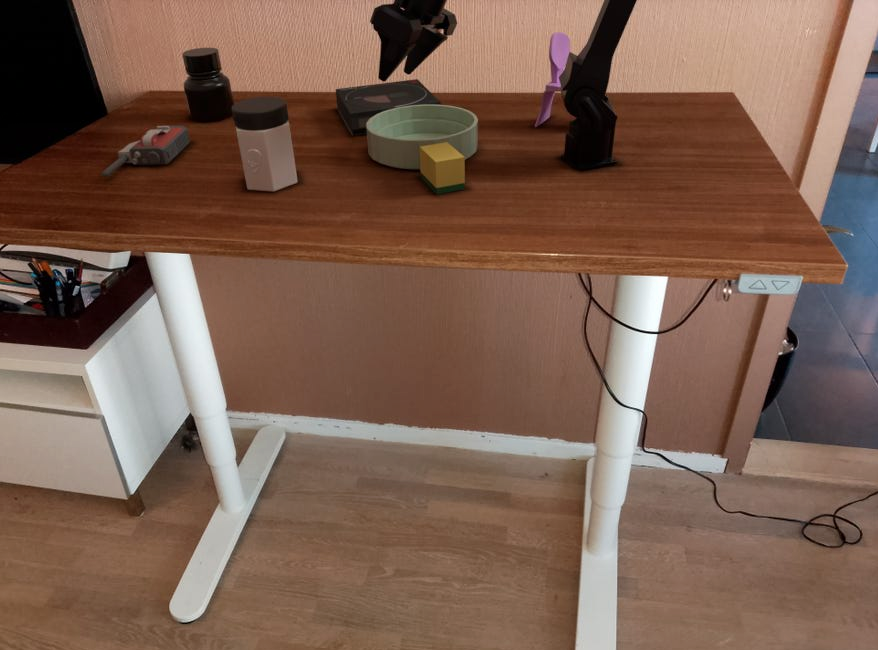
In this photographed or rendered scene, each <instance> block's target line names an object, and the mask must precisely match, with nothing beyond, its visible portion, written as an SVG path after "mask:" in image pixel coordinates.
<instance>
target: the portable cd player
mask: <svg viewBox="0 0 878 650" xmlns="http://www.w3.org/2000/svg"><path fill="white" fill-rule="evenodd" d="M335 96H336V97H335V98H336V106H337V107H336V108H337V112H338V113H339V115H340V117H341V119H342V121H343V122H344V124H345V126H346V127H347V129H348V131H349V132H350V134H351V136H352V137H356V136H357V137H358V136H364V135H367V128H366V123H367V122H368V120H369V119H370V118H371V117H373V116H375V115H376V114H378V113H381V112H383V111H386V110H390V109H394V108H398V107H404V106H411V105H425V104H427V105H442V103H441V101H440V100H439V99H438V98H437V97H436V96H435V95H434V94H433V93H432V92H431V91H430V90H429V88H427V87H426V85H424V84H423V83H422V82H421V81H420V80H419V79H418V78H416V79H408V80H398V81H390V82H382V83H375V84H366V85H359V86H350V87H342V88H335Z"/></svg>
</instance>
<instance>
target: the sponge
mask: <svg viewBox="0 0 878 650" xmlns="http://www.w3.org/2000/svg"><path fill="white" fill-rule="evenodd" d="M465 161H466V159H464V156H463V155H462V154H461V153H459V152H458V151H457V150H456V149H455V148H454V147H452V146H451V145H450V144H449V143H448V142H444V143H439V144H433V145H427V146H421V147H420V169H419V170H420V171H419V172H420V179H421V180H422V181H423V182H424V183H425V185H427V186H428V188H430V190H431V191H432V192H433V193H434V194H435V195H440V194H441V195H442V194H447V193H452V192H457V191H463V190H465V184H466V183H465V182H466V181H465V177H466V176H465V173H466V172H465V167H466V165H465Z"/></svg>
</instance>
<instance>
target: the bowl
mask: <svg viewBox="0 0 878 650" xmlns="http://www.w3.org/2000/svg"><path fill="white" fill-rule="evenodd" d="M366 128H367V134H366V141H367V153H368V156H369V157H370V158H371V159H372V160H373V161H375V162H377V163H379V164H381V165H384V166H388V167H392V168H396V169H403V170H420V147H421V146H427V145H433V144H439V143H444V142H448V143H449V144H450V145H451V146H452V147H454V148H455V149H456V150H457V151H458V152H459V153H461V154H462V155H463V156H464V159H465V160H467V159H469V158H471V157H472V156H473V155H474V154H475V153H476V152H477V150H478V146H479V119H478V117H477V115H476V114H475V113H474V112H472V111H471V110H469V109H465V108H463V107H459V106H453V105H447V104H446V105H445V104H441V105H427V104H425V105H411V106H404V107H398V108H394V109H390V110H386V111H383V112H381V113H378V114H376V115H375V116H373V117H371V118H370V119H369V120H368V122H367V123H366Z"/></svg>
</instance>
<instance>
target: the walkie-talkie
mask: <svg viewBox="0 0 878 650" xmlns="http://www.w3.org/2000/svg"><path fill="white" fill-rule="evenodd" d="M190 143H191V140H190V136H189V132H188V129H187V127H185V126H184V125H157V126H156V128H154V129H149V130H148V131H146V132H145V133H144V134H143V135H142V136H141V138H140V140H137V141H134V142H130V143H128V144H127V145H125V147H124V148H122V149H120V150H119V151H117V155H118V158H117V159H116V160H115V161H114V162H113V163H111V164H110V165H109V166H108V167H106V169H104V170H103V171H102V172H101V175H102V177H104V178H108V177H109V176H110V175H111V174H113V173H114V172H115V171H116V170H118V169H119V168H121V166H122V165H124V164H132V165H135V166H165V165H168V164H169V163H170V162H171V161H172V160H173V159H174V158H176V156H178V155H179V154H180V153H181V152H182V151H183V150H184V149H185V148H186V147H187V146H188V145H189V144H190Z"/></svg>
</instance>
